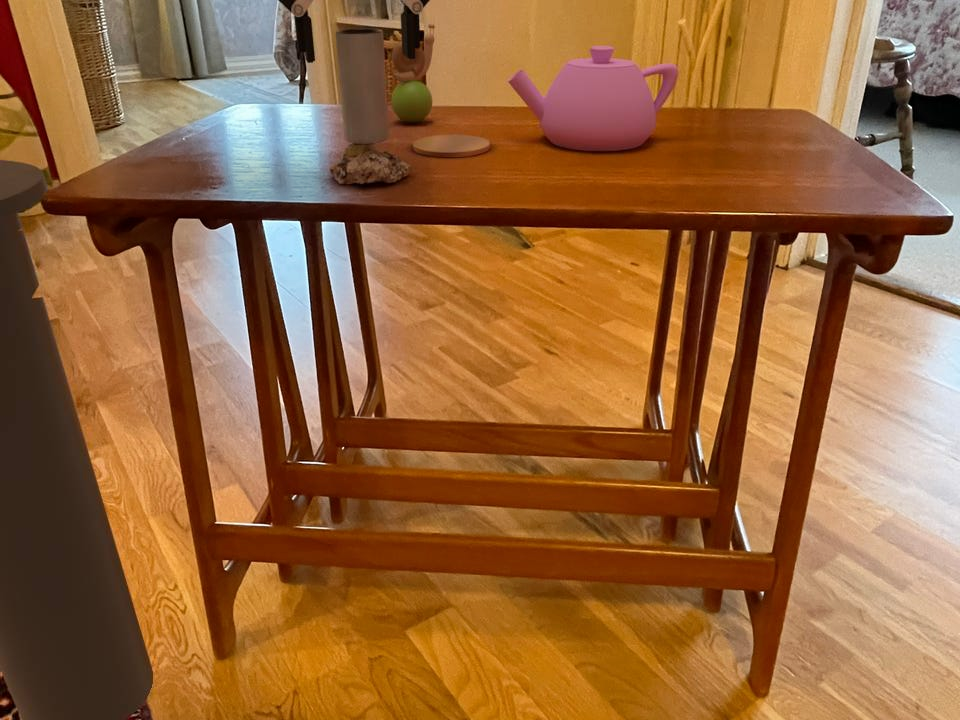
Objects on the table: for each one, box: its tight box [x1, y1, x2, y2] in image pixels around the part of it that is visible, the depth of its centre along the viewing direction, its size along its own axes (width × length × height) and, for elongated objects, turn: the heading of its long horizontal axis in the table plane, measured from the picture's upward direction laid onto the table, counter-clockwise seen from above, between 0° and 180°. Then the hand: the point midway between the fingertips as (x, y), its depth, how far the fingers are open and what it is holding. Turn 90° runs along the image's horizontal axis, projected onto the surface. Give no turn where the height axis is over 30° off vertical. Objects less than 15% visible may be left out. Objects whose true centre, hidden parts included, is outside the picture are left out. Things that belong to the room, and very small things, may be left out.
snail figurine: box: [390, 23, 436, 124], centre depth 102 cm, size 5×6×12 cm
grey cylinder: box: [335, 27, 390, 144], centre depth 78 cm, size 4×4×10 cm
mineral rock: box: [328, 143, 411, 185], centre depth 81 cm, size 11×4×8 cm
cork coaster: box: [412, 134, 491, 158], centre depth 92 cm, size 9×9×1 cm
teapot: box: [507, 45, 680, 152], centre depth 93 cm, size 14×20×11 cm
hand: (360, 59), depth 76 cm, fingers open, 9 cm apart
